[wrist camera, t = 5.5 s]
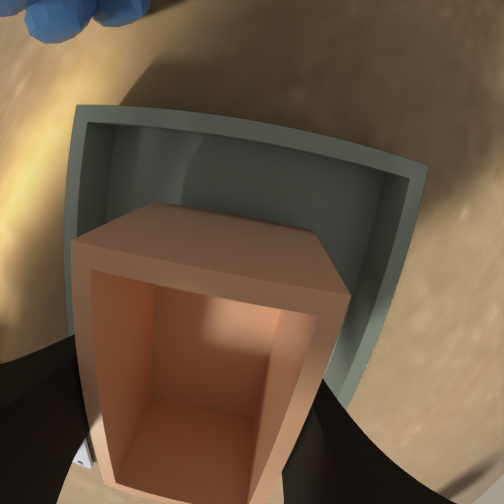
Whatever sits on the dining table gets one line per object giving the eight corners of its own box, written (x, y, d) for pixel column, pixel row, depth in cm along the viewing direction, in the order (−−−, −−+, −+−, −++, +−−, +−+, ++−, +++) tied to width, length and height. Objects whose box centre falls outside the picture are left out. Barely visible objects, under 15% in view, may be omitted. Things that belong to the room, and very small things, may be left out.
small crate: (145, 395, 14) (104, 484, 8) (156, 200, 11) (70, 240, 6) (261, 419, 14) (257, 518, 8) (312, 230, 11) (351, 295, 6)
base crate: (104, 391, 16) (84, 425, 13) (113, 112, 12) (76, 104, 9) (307, 433, 16) (311, 472, 14) (395, 162, 12) (428, 165, 9)
